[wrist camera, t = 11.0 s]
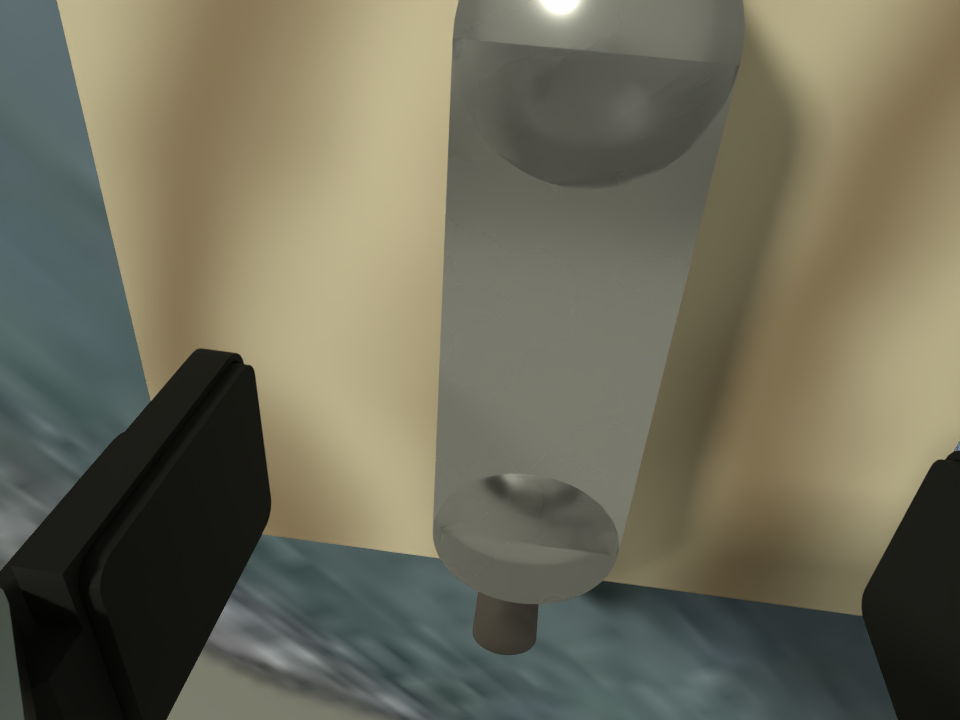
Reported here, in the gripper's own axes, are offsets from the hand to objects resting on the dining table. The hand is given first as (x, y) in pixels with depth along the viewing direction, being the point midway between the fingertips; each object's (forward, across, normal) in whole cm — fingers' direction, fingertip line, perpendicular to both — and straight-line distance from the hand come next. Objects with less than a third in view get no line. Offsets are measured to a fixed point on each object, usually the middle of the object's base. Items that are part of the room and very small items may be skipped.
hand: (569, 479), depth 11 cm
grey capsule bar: (+7, 0, 0) cm, 7 cm away
